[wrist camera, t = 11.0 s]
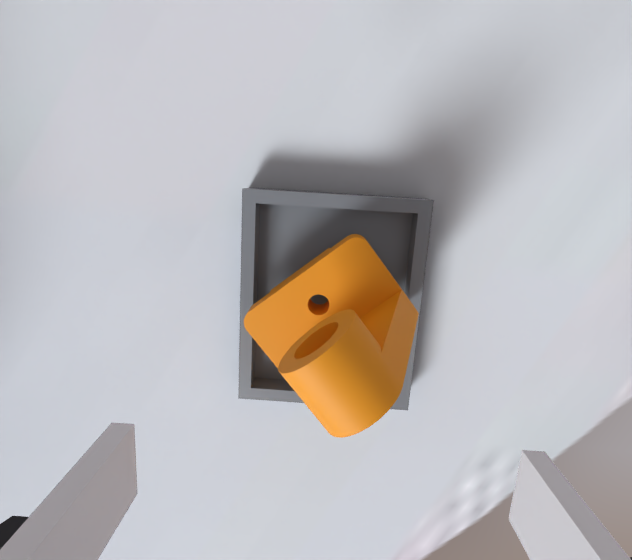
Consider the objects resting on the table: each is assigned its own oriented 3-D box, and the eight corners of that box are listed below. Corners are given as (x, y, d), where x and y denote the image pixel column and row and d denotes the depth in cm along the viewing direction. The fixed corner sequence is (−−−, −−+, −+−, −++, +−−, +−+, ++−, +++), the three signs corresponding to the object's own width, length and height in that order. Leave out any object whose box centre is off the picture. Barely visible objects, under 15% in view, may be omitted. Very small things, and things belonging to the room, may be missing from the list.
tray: (244, 383, 38) (238, 398, 35) (248, 187, 34) (242, 188, 31) (402, 395, 37) (407, 410, 35) (426, 198, 33) (433, 200, 31)
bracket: (357, 227, 32) (373, 256, 20) (411, 302, 33) (456, 371, 21) (245, 308, 33) (199, 379, 22) (300, 377, 35) (286, 479, 23)
